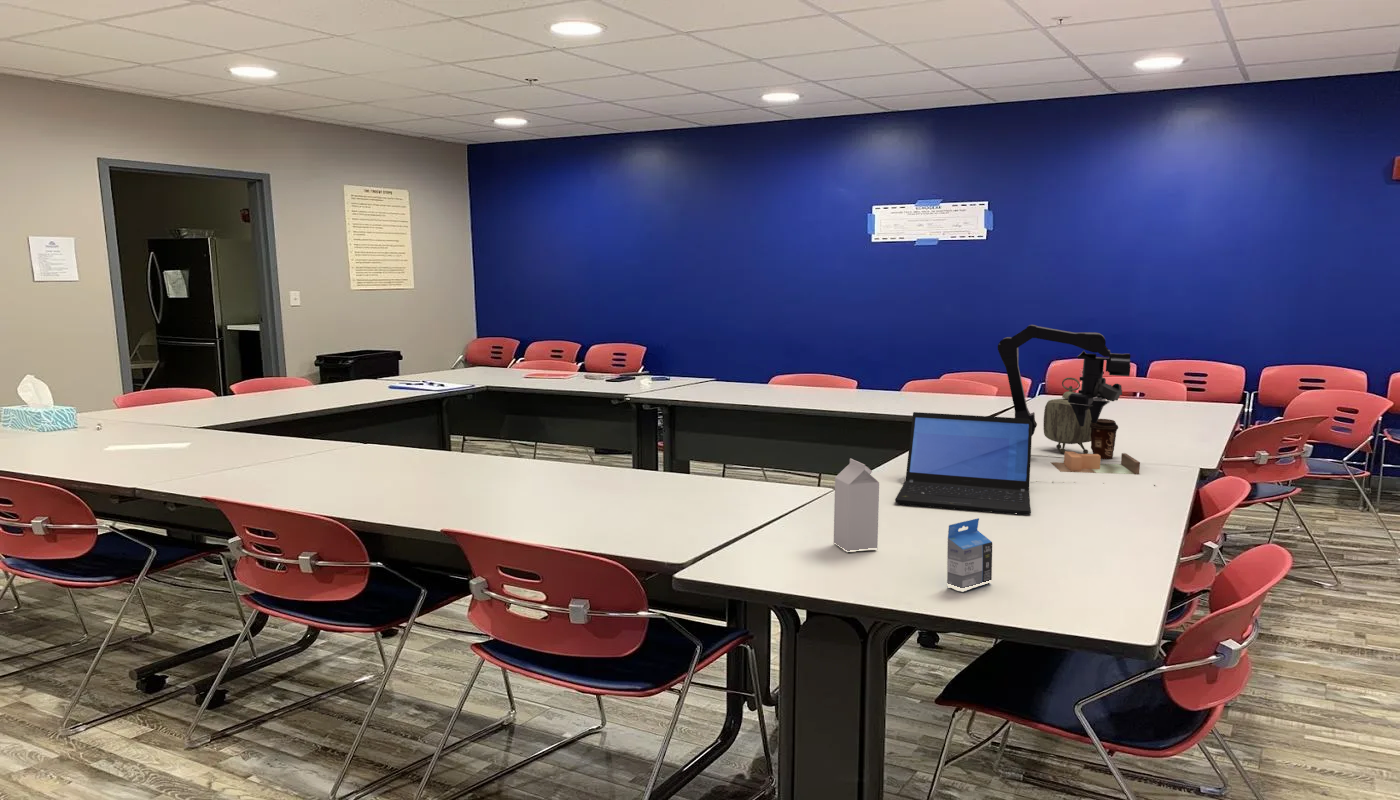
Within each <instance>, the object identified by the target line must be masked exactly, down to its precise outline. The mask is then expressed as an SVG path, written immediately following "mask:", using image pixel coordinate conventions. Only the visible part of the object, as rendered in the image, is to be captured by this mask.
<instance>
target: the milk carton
mask: <svg viewBox="0 0 1400 800" xmlns="http://www.w3.org/2000/svg"><path fill="white" fill-rule="evenodd" d="M872 473H873V471H872V470H871V469H870V467H868V466H866V464H864V463H862V462H860V461H857V460H855V459H853V458H849V464H848V465H847V466H845V467H844V468H843V469H842V470H841V471H840V472H838V474H837V475H836V476H835V477H834V505H833V507H834V508H833V509H834V511H833V513H834V514H833V515H834V516H833V544H834V543H836V544H837V545H839V546H840V547H842V548H844V549H845V550H847V551H850V550H859V549H868V548H877V549H878V541H879V540H878V539H879V538H878V535H879V510H880V509H879V505H880V504H879V502H880V482H879V481H878V480H877V479H876V478H875V477H874V476H873V475H871V474H872Z"/></svg>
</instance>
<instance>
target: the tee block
mask: <svg viewBox="0 0 1400 800" xmlns="http://www.w3.org/2000/svg"><path fill="white" fill-rule="evenodd" d="M1063 454H1064V455H1063V457H1064V458H1063V463H1064V465H1065V466H1066V467H1068V468H1069V469H1070V470H1078V471H1081V469H1100V464H1101V460H1102V459H1101V456H1100V455H1099V454H1093V453H1088V454H1084V453H1077V452H1076V451H1066V450H1065V452H1064V453H1063Z"/></svg>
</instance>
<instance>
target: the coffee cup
mask: <svg viewBox="0 0 1400 800" xmlns="http://www.w3.org/2000/svg"><path fill="white" fill-rule="evenodd" d="M1090 428H1091V434H1090V435H1091V441H1090V449H1091V451H1092V454H1099V455H1100V456H1101V460H1113V458H1114V450H1115V447H1116V446H1115V445H1116V438H1117V437H1116V436H1117V431H1118V429H1119V426H1118V424H1117V423H1116V421H1115V420H1114V419H1108V418H1098V421H1097V423H1093V422H1092V420H1091V424H1090Z"/></svg>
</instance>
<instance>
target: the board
mask: <svg viewBox="0 0 1400 800" xmlns="http://www.w3.org/2000/svg"><path fill="white" fill-rule="evenodd" d="M1120 456H1121V458H1120V460H1121V461H1120V464H1116V463H1115V464H1113V463H1100V469H1081V471H1078V470H1070V469H1069V468H1068V467H1066V466H1065V465H1064V462H1059V461H1058V462H1054V461H1053V462H1050V464H1051V465H1052V466H1054V468H1056V469H1057V470H1058V471H1059V472H1060V473H1082V474H1083V473H1085V474H1086V473H1087V474H1088V473H1090V474H1091V473H1093V474H1114V475H1115V474H1116V475H1117V474H1119V475H1140V468H1141V467H1140V466H1141V462H1140V461H1139V460H1137V459H1136V458H1134V457H1132V456H1131V455H1129V454H1128V453H1125V452H1122V453H1121V455H1120Z"/></svg>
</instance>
